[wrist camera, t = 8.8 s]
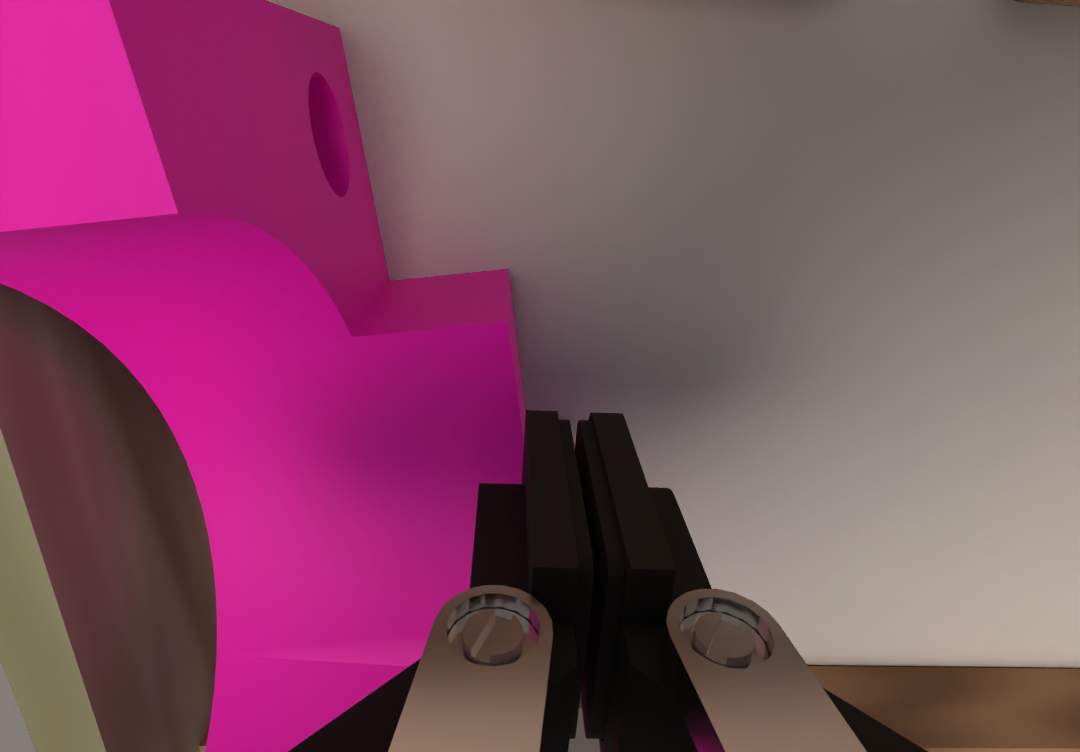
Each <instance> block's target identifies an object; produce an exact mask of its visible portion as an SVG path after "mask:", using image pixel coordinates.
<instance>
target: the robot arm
mask: <svg viewBox="0 0 1080 752" xmlns="http://www.w3.org/2000/svg"><path fill="white" fill-rule="evenodd" d="M580 695H581V703H582V712H583V721H584V730H585V735H586V738H587V739H599V744H600V752H928V751H926V750H925V749H923V748H921V747H920V746H918V745H916V744H915V743H913V742H911V741H910V740H908V739H907V738H905V737H903V736H902V735H900V734H898V733H897V732H895V731H893V730H892V729H890V728H889V727H887V726H885V725H884V724H882V723H880V722H879V721H877V720H875V719H874V718H872V717H870V716H869V715H867V714H866V713H864V712H862V711H861V710H859V709H857V708H856V707H854V706H852V705H851V704H849V703H848V702H846V701H844V700H843V699H841V698H839V697H838V696H836V695H834V694H833V693H831V692H829V691H828V690H826V689H825V688H823V687H822V686H821V684H820V683H819V682H818V680H817V679H816V677H815V676H814V674H813V673H812V671H811V670H810V669H809V667H808V666H807V664H806V663H805V661H804V660H803V658H802V657H801V656H800V654H799V653H798V651H797V650H796V648H795V647H794V645H793V644H792V643H791V641H790V640H789V638H788V637H787V635H786V634H785V632H784V631H783V630H782V628H781V627H780V625H779V624H778V623H777V622H776V621H775V619H774V618H773V617H772V616H771V615H770V614H769V613H768V612H767V611H766V610H764V609H763V608H762V607H760V606H759V605H757V604H756V603H755V602H753V601H751V600H749V599H747V598H745V597H743V596H740V595H738V594H736V593H732V592H728V591H724V590H719V589H712V588H711V586H710V583H709V581H708V578H707V576H706V573H705V571H704V568H703V566H702V563H701V561H700V558H699V556H698V553H697V551H696V548H695V546H694V543H693V541H692V538H691V536H690V533H689V531H688V528H687V526H686V523H685V521H684V518H683V516H682V513H681V511H680V508H679V506H678V504H677V501H676V499H675V496H674V494H673V492H672V490H671V489H669V488H649V487H648V485H647V482H646V479H645V476H644V473H643V470H642V468H641V465H640V462H639V459H638V456H637V453H636V450H635V447H634V444H633V441H632V438H631V436H630V433H629V430H628V427H627V424H626V421H625V418H624V416H623V414H619V413H590V416H589V421H587V420H579V421H578V424H577V433H576V444H575V449H574V443H573V437H572V431H571V426H570V421H569V420H559V418H558V412H557V411H531V410H526V416H525V432H524V451H523V469H522V484H502V483H479V489H478V500H477V511H476V523H475V534H474V545H473V557H472V568H471V579H470V589H467V590H465V591H463V592H461V593H459V594H457V595H455V596H453V597H452V598H451V599H450V600H449V601H448V602H447V603H445V604H444V605H443V606H442V607H441V609H440V611H439V613H438V614H437V616H436V618H435V620H434V622H433V625H432V628H431V631H430V634H429V637H428V639H427V642H426V645H425V648H424V651H423V654H422V657H421V658H420V659H419V660H417V661H416V662H415V663H413V664H412V665H410V666H409V667H407V668H406V669H405V670H403V671H402V672H400V673H399V674H397V675H396V676H395V677H393V678H392V679H390V680H389V681H388V682H386V683H385V684H383V685H382V686H380V687H379V688H378V689H376V690H375V691H373V692H372V693H370V694H369V695H368V696H366V697H365V698H363V699H362V700H361V701H359V702H358V703H356V704H355V705H353V706H352V707H351V708H349V709H348V710H346V711H345V712H343V713H342V714H341V715H339V716H338V717H336V718H335V719H333V720H332V721H331V722H329V723H328V724H326V725H325V726H324V727H322V728H321V729H319V730H318V731H316V732H315V733H314V734H312V735H311V736H309V737H308V738H306V739H305V740H304V741H302V742H301V743H299V744H298V745H296V746H295V747H294V748H292V749H291V750H289V751H288V752H568V749H569V740H570V739H575V736H576V729H577V721H578V712H579V704H580Z"/></svg>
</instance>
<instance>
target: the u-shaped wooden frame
mask: <svg viewBox="0 0 1080 752" xmlns="http://www.w3.org/2000/svg"><path fill="white" fill-rule="evenodd" d="M1015 1H1020V2H1031V3H1044V4H1057V5H1071V6H1080V0H1015ZM216 656H217V608H216V589H215V579H214V569H213V561H212V555H211V548H210V542H209V536H208V532H207V527H206V523H205V518H204V514H203V510H202V506H201V503H200V500H199V496H198V493H197V490H196V486H195V483H194V480H193V478H192V475H191V473H190V470H189V467H188V465H187V462H186V459H185V457H184V455H183V453H182V451H181V449H180V447H179V444H178V442H177V440H176V438H175V436H174V434H173V432H172V430H171V429H170V427H169V425H168V423H167V422H166V420H165V418H164V417H163V415H162V413H161V411H160V410H159V408H158V407H157V405H156V404H155V403H154V401H153V400H152V398H151V397H150V395H149V394H148V393H147V391H146V390H145V388H144V387H143V386H142V385H141V383H140V382H139V381H138V380H137V379H136V378H135V376H134V375H133V374H132V373H131V372H130V371H129V369H128V368H127V367H126V366H125V365H124V364H123V363H122V362H121V361H120V360H119V359H118V358H117V357H116V356H115V355H114V354H113V353H112V352H111V351H110V350H109V349H108V348H107V347H106V346H105V345H104V344H103V343H101V342H100V341H99V340H97V339H96V338H95V337H94V336H92V335H91V334H90V333H89V332H87V331H86V330H85V329H84V328H82V327H81V326H80V325H78V324H77V323H75V322H74V321H72V320H71V319H69V318H68V317H66V316H64V315H63V314H61V313H60V312H58V311H56V310H55V309H53V308H52V307H50V306H49V305H47V304H45V303H42V302H40V301H38V300H36V299H34V298H32V297H30V296H28V295H26V294H24V293H22V292H20V291H18V290H16V289H14V288H11V287H8V286H6V285H3V284H0V660H1V663H2V666H3V668H4V671H5V673H6V676H7V678H8V681H9V683H10V686H11V688H12V691H13V693H14V696H15V698H16V701H17V704H18V706H19V709H20V711H21V714H22V716H23V719H24V722H25V724H26V727H27V729H28V731H29V734H30V737H31V739H32V742H33V744H34V747H35V749H36V752H205V750H206V744H207V738H208V732H209V726H210V720H211V712H212V703H213V695H214V686H215V671H216ZM808 667H809V669H810V670H811V671H812V673H813V674H814V676H815V677H816V679H817V680H818V682H819V683H820V684H821V686H822V687H823V688H825V689H826V690H828V691H829V692H831V693H833V694H834V695H836V696H838V697H839V698H841V699H843V700H844V701H846V702H848V703H849V704H851V705H852V706H854V707H856V708H857V709H859V710H861V711H862V712H864V713H866V714H867V715H869V716H870V717H872V718H874V719H875V720H877V721H879V722H880V723H882V724H884V725H885V726H887V727H889V728H890V729H892V730H893V731H895V732H897V733H898V734H900V735H902V736H903V737H905V738H907V739H908V740H910V741H911V742H913V743H915V744H916V745H918V746H920V747H921V748H923V749H925V750H926V751H928V752H1080V669H1050V668H957V667H864V666H808Z"/></svg>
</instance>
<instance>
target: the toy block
mask: <svg viewBox="0 0 1080 752" xmlns="http://www.w3.org/2000/svg"><path fill="white" fill-rule="evenodd" d="M0 284H3V285H6V286H8V287H11V288H14V289H16V290H18V291H20V292H22V293H24V294H26V295H28V296H30V297H32V298H34V299H36V300H38V301H40V302H42V303H45V304H47V305H49V306H50V307H52V308H53V309H55V310H56V311H58V312H60V313H61V314H63V315H64V316H66V317H68V318H69V319H71V320H72V321H74V322H75V323H77V324H78V325H80V326H81V327H82V328H84V329H85V330H86V331H87V332H89V333H90V334H91V335H92V336H94V337H95V338H96V339H97V340H99V341H100V342H101V343H103V344H104V345H105V346H106V347H107V348H108V349H109V350H110V351H111V352H112V353H113V354H114V355H115V356H116V357H117V358H118V359H119V360H120V361H121V362H122V363H123V364H124V365H125V366H126V367H127V368H128V369H129V371H130V372H131V373H132V374H133V375H134V376H135V378H136V379H137V380H138V381H139V382H140V383H141V385H142V386H143V387H144V388H145V390H146V391H147V393H148V394H149V395H150V397H151V398H152V400H153V401H154V403H155V404H156V405H157V407H158V408H159V410H160V411H161V413H162V415H163V417H164V418H165V420H166V422H167V423H168V425H169V427H170V429H171V430H172V432H173V434H174V436H175V438H176V440H177V442H178V444H179V447H180V449H181V451H182V453H183V455H184V457H185V459H186V462H187V465H188V467H189V470H190V473H191V475H192V478H193V480H194V483H195V486H196V490H197V493H198V496H199V500H200V503H201V506H202V510H203V514H204V518H205V523H206V527H207V532H208V536H209V542H210V548H211V555H212V561H213V569H214V579H215V589H216V608H217V656H216V671H215V686H214V695H213V703H212V712H211V720H210V726H209V732H208V738H207V744H206V750H205V752H288V751H289V750H291V749H292V748H294V747H295V746H296V745H298V744H299V743H301V742H302V741H304V740H305V739H306V738H308V737H309V736H311V735H312V734H314V733H315V732H316V731H318V730H319V729H321V728H322V727H324V726H325V725H326V724H328V723H329V722H331V721H332V720H333V719H335V718H336V717H338V716H339V715H341V714H342V713H343V712H345V711H346V710H348V709H349V708H351V707H352V706H353V705H355V704H356V703H358V702H359V701H361V700H362V699H363V698H365V697H366V696H368V695H369V694H370V693H372V692H373V691H375V690H376V689H378V688H379V687H380V686H382V685H383V684H385V683H386V682H388V681H389V680H390V679H392V678H393V677H395V676H396V675H397V674H399V673H400V672H402V671H403V670H405V669H406V668H407V667H409V666H410V665H412V664H413V663H415V662H416V661H417V660H419V659H420V658H421V657H422V654H423V651H424V648H425V645H426V642H427V639H428V637H429V634H430V631H431V628H432V625H433V622H434V620H435V618H436V616H437V614H438V613H439V611H440V609H441V607H442V606H443V605H444V604H445V603H447V602H448V601H449V600H450V599H451V598H452V597H453V596H455V595H457V594H459V593H461V592H463V591H465V590H467V589H470V579H471V568H472V557H473V545H474V534H475V523H476V511H477V500H478V489H479V483H502V484H522V469H523V451H524V432H525V416H526V411H525V403H524V394H523V386H522V377H521V369H520V360H519V352H518V344H517V335H516V327H515V318H514V310H513V301H512V293H511V284H510V276H509V269H502V270H492V271H483V272H473V273H464V274H454V275H444V276H435V277H425V278H416V279H406V280H396V281H389V276H388V271H387V266H386V261H385V256H384V251H383V246H382V241H381V236H380V231H379V226H378V221H377V216H376V211H375V206H374V201H373V195H372V190H371V185H370V180H369V175H368V170H367V165H366V160H365V155H364V150H363V145H362V140H361V135H360V130H359V125H358V120H357V115H356V110H355V105H354V100H353V95H352V90H351V85H350V80H349V75H348V70H347V65H346V60H345V55H344V50H343V45H342V40H341V35H340V30H339V28H338V27H335V26H333V25H330V24H327V23H324V22H322V21H319V20H316V19H314V18H311V17H308V16H306V15H303V14H300V13H298V12H295V11H292V10H290V9H287V8H284V7H282V6H279V5H276V4H274V3H271V2H268V1H266V0H0Z"/></svg>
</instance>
